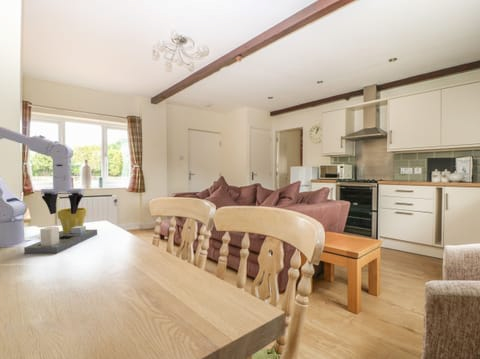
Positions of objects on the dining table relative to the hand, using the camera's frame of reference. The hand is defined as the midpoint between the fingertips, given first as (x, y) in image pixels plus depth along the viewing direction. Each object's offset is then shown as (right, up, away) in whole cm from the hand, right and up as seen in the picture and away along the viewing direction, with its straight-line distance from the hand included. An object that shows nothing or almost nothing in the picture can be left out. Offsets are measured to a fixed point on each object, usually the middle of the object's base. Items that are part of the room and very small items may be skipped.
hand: (63, 213), depth 97 cm
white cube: (+3, -10, +4) cm, 11 cm away
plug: (+3, -10, -11) cm, 16 cm away
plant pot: (-6, -10, +15) cm, 19 cm away
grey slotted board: (+3, -11, -4) cm, 12 cm away
